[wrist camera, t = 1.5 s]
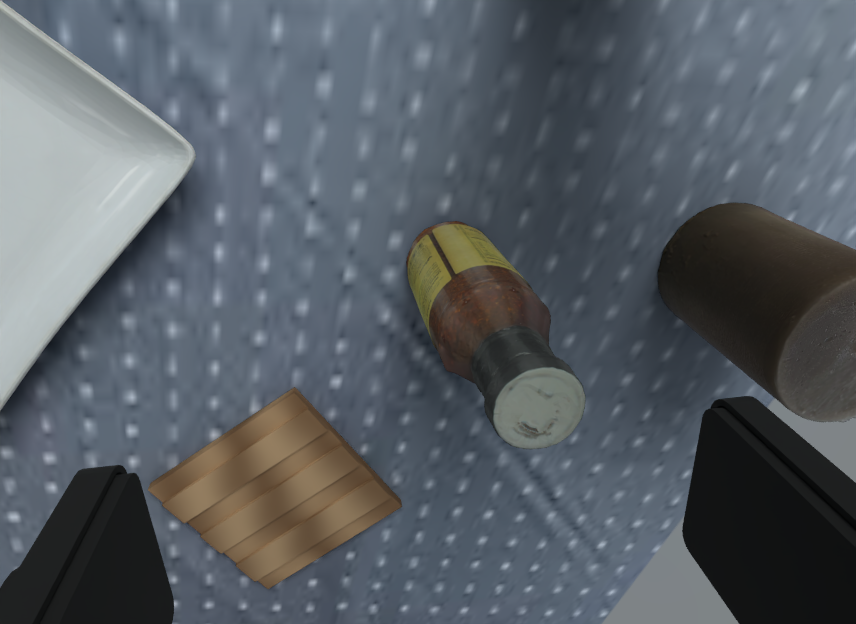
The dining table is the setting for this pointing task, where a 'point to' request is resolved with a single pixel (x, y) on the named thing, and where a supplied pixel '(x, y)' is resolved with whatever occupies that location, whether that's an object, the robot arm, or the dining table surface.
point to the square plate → (67, 185)
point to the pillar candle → (770, 303)
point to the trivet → (276, 491)
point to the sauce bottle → (494, 334)
